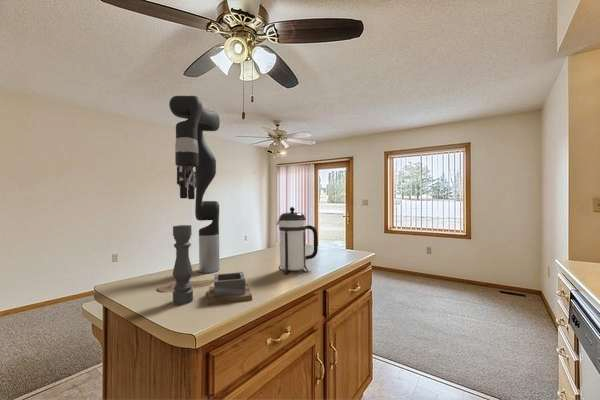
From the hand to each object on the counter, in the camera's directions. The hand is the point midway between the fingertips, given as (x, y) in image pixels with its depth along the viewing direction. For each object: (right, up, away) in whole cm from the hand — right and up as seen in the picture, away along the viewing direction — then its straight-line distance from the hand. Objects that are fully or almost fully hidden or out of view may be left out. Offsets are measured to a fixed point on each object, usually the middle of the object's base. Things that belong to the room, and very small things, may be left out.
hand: (187, 198), depth 96 cm
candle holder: (0, -34, -5) cm, 34 cm away
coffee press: (+37, -34, +34) cm, 61 cm away
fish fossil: (-3, -35, +13) cm, 37 cm away
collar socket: (+14, -34, +1) cm, 37 cm away
